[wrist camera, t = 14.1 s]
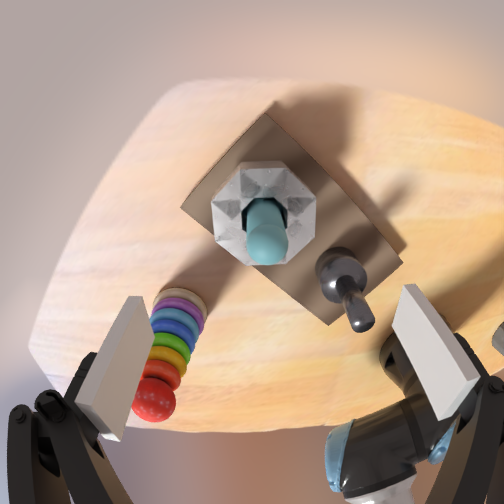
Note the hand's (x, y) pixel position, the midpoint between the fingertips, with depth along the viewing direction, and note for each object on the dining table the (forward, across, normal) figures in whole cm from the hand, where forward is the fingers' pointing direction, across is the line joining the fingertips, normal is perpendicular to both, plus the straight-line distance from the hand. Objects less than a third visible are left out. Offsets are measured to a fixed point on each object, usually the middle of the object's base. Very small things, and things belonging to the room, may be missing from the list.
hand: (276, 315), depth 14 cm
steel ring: (+17, 0, 0) cm, 17 cm away
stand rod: (+20, -9, +9) cm, 24 cm away
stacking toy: (+22, +12, +16) cm, 30 cm away
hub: (+20, 0, 0) cm, 20 cm away
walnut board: (+22, -5, +5) cm, 23 cm away
